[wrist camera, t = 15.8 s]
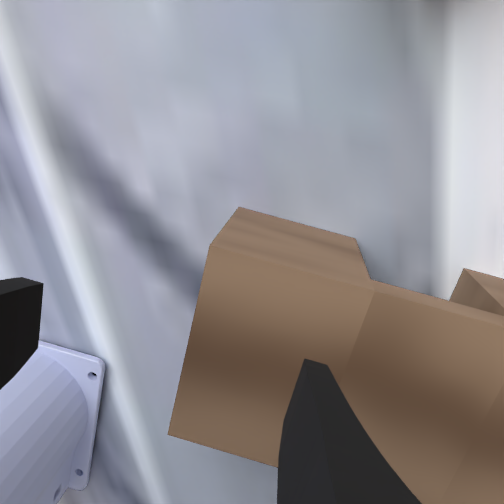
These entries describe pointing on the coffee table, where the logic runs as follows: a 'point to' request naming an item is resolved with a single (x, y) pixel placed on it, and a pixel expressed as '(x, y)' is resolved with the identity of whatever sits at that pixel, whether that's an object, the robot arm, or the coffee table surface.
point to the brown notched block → (346, 357)
